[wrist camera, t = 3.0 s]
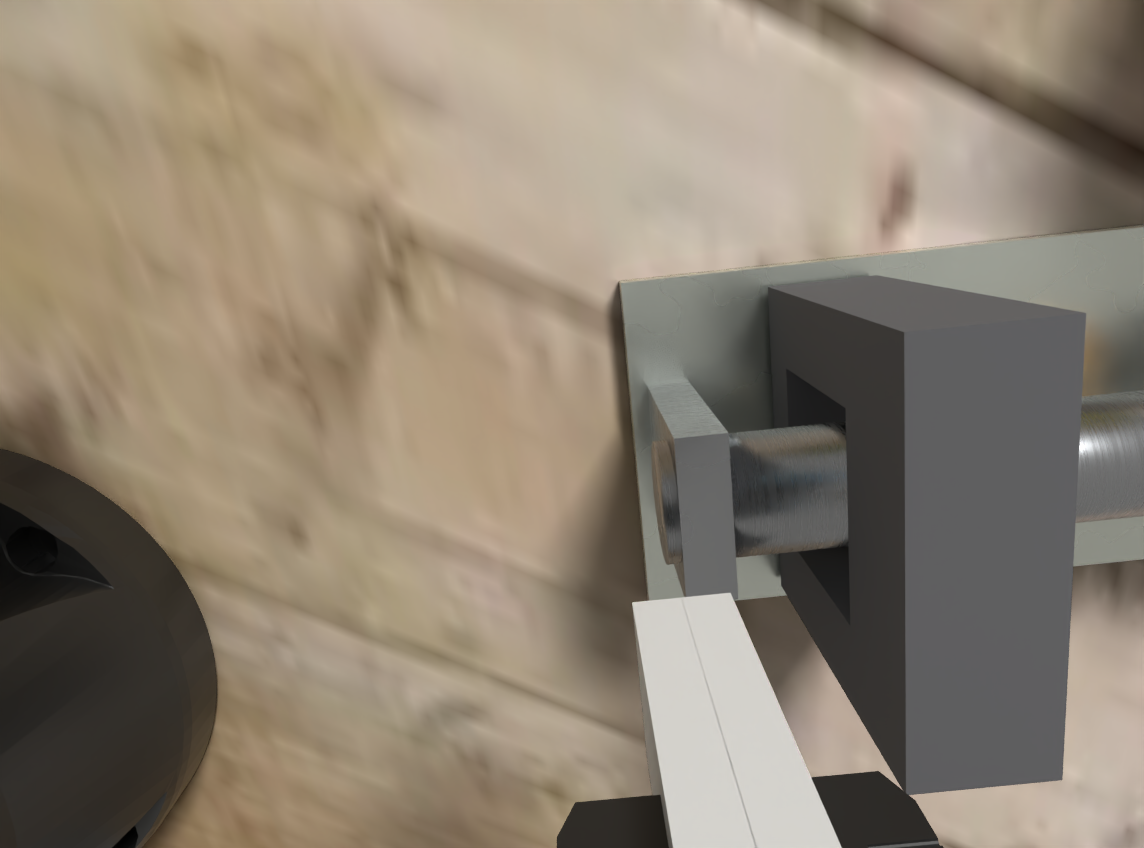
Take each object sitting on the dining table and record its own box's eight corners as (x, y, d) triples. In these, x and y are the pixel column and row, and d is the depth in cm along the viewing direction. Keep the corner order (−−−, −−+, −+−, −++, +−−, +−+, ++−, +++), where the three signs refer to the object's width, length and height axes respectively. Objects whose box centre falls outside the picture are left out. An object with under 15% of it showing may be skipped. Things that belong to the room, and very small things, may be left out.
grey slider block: (781, 585, 25) (906, 795, 16) (767, 286, 22) (904, 332, 13) (880, 575, 24) (1062, 779, 16) (876, 275, 22) (1086, 312, 13)
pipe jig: (647, 597, 26) (676, 727, 19) (619, 280, 23) (641, 305, 17) (1248, 536, 26) (1487, 647, 19) (1284, 209, 23) (1572, 205, 16)
